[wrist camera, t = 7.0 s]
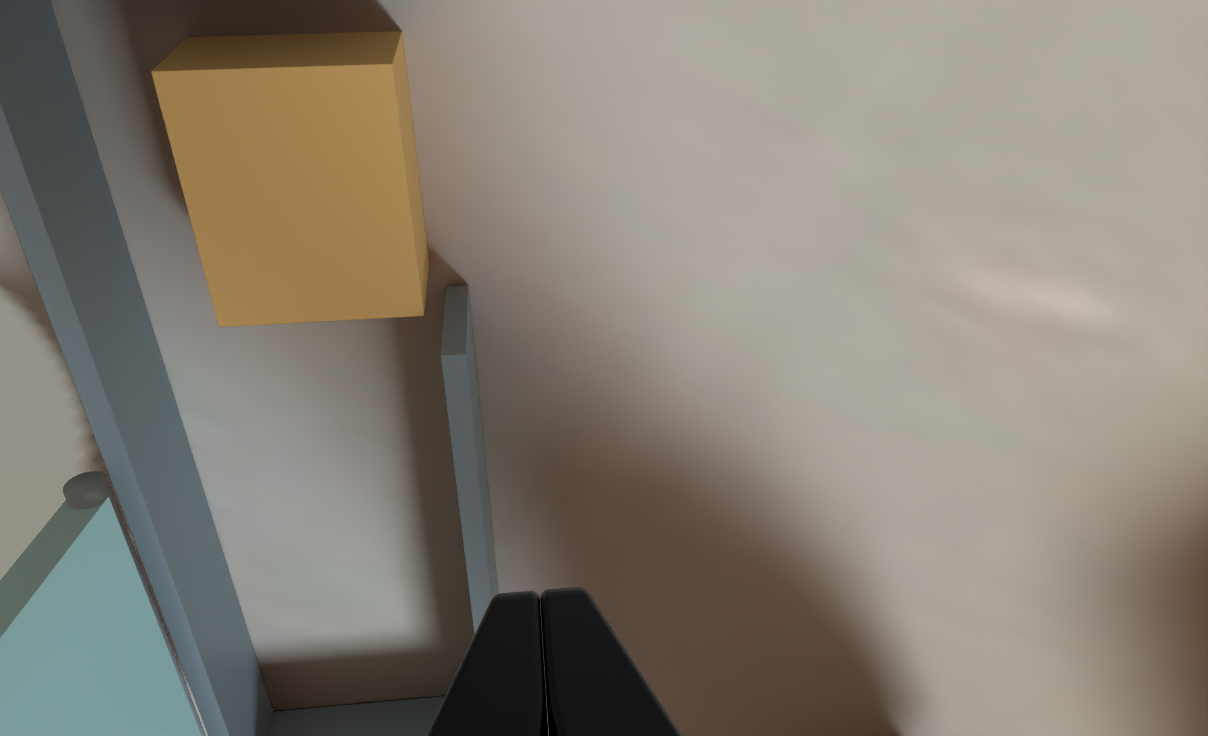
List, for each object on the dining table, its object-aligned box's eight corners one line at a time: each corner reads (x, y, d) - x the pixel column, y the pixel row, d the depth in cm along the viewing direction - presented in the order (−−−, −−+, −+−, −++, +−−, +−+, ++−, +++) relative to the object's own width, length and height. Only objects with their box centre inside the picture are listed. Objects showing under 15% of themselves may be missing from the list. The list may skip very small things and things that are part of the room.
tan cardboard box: (429, 259, 21) (423, 316, 19) (245, 268, 21) (219, 326, 19) (403, 27, 18) (391, 63, 16) (190, 33, 18) (151, 71, 16)
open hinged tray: (508, 700, 29) (511, 786, 27) (259, 723, 28) (238, 814, 26) (432, -83, 17) (423, -55, 15) (-4, -73, 16) (-89, -43, 14)
